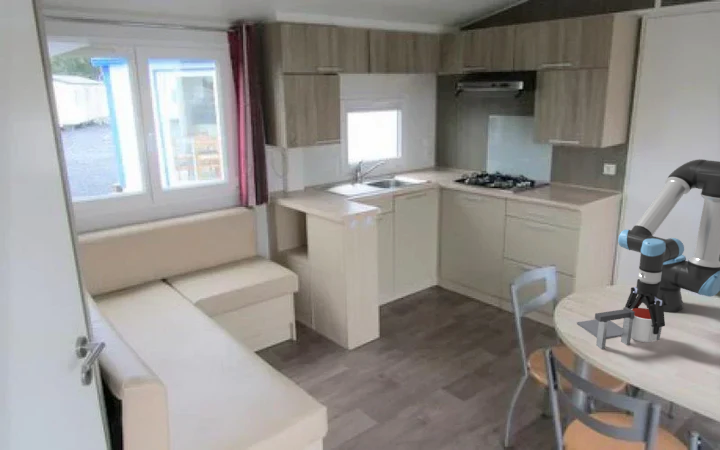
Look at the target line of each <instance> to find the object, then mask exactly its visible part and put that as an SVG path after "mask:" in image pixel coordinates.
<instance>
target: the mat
mask: <svg viewBox="0 0 720 450" xmlns="http://www.w3.org/2000/svg"><path fill="white" fill-rule="evenodd" d="M607 322H608V327H607V336H606V339H611V338H617V337H622V329H623V327H622V326H620V325H618V324H617V323H615V322H614V321H613V320H610V321H607ZM576 324H577V325H578V326H579V327H581V328H582V329H584V330H585V331H587V332H588V333H589V334H591V336H592V335H593V336H594V337H595V338H597V333H598V325H599V321H598V320H596V319H595V318H594V319H590V320H589V319H587V320H584V321H583V320H582V321H577V322H576Z"/></svg>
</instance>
